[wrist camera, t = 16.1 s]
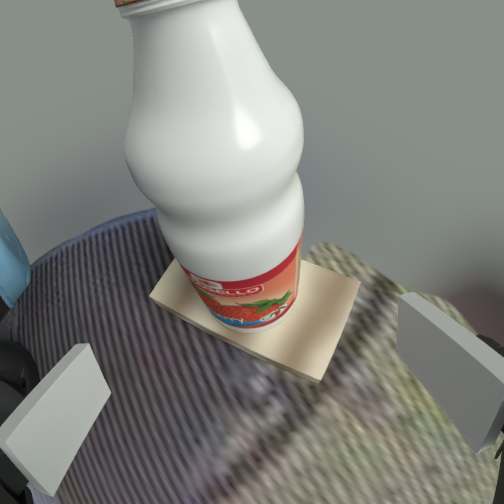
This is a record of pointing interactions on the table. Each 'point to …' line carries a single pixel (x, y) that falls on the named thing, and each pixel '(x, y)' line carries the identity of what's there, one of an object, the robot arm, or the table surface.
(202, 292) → the fruit juice
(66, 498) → the table surface
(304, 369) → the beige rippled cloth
